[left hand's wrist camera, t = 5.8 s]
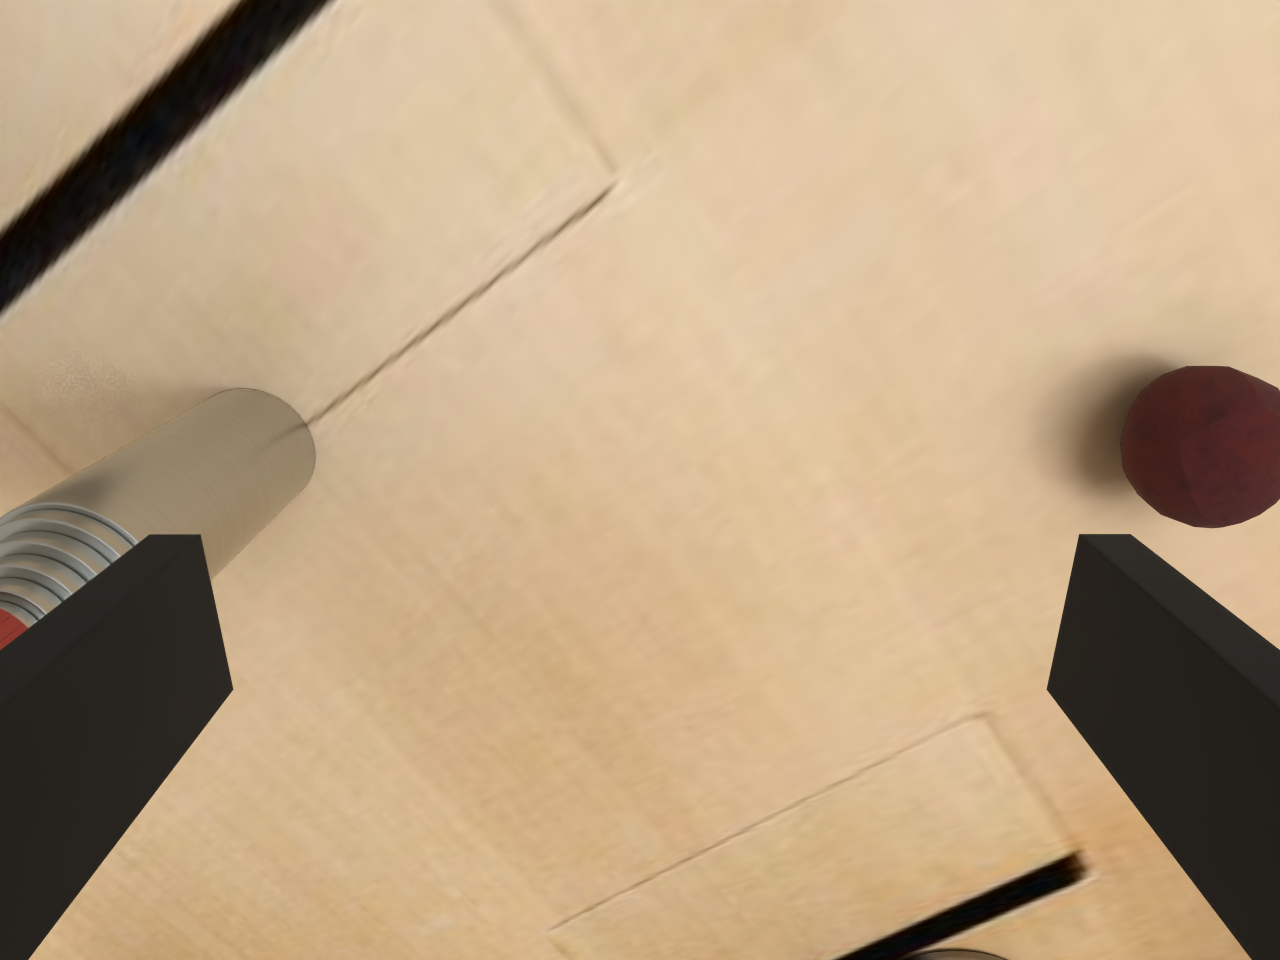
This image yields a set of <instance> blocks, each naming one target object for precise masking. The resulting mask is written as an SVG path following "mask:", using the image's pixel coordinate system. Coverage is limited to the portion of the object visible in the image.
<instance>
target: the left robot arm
mask: <svg viewBox="0 0 1280 960" xmlns="http://www.w3.org/2000/svg"><path fill="white" fill-rule="evenodd" d="M232 690H233V686H232V681H231V676H230V672H229V667H228V662H227V657H226V652H225V648H224V643H223V638H222V633H221V629H220V624H219V619H218V614H217V610H216V605H215V600H214V595H213V590H212V586H211V581H210V576H209V571H208V567H207V562H206V557H205V552H204V547H203V543H202V538H201V534H149V535H148V536H147V537H145V538H144V539H143V540H141V541H140V542H139V543H138V544H136V545H135V546H134V547H132V548H131V549H130V550H129V551H127V552H126V553H125V554H123V555H122V556H121V557H120V558H118V559H117V560H116V561H114V562H113V563H112V564H111V565H109V566H108V567H107V568H105V569H104V570H103V571H102V572H100V573H99V574H98V575H96V576H95V577H94V578H92V579H91V580H90V581H89V582H87V583H86V584H85V585H83V586H82V587H81V588H80V589H78V590H77V591H76V592H74V593H73V594H72V595H71V596H69V597H68V598H67V599H65V600H64V601H63V602H62V603H60V604H59V605H58V606H56V607H55V608H54V609H53V610H51V611H50V612H49V613H47V614H46V615H45V616H44V617H42V618H41V619H40V620H38V621H37V622H36V623H35V624H33V625H32V626H31V627H29V628H28V629H27V630H25V631H24V632H23V633H22V634H20V635H19V636H18V637H16V638H15V639H14V640H13V641H11V642H10V643H9V644H7V645H6V646H5V647H4V648H2V649H1V650H0V960H28V959H29V958H30V957H31V955H32V954H33V953H34V951H35V950H36V949H37V947H38V946H39V945H40V943H41V942H42V941H43V939H44V938H45V937H46V936H47V934H48V933H49V932H50V930H51V929H52V928H53V926H54V925H55V924H56V922H57V921H58V920H59V918H60V917H61V916H62V914H63V913H64V912H65V911H66V909H67V908H68V907H69V905H70V904H71V903H72V901H73V900H74V899H75V897H76V896H77V895H78V893H79V892H80V891H81V889H82V888H83V887H84V885H85V884H86V883H87V882H88V880H89V879H90V878H91V876H92V875H93V874H94V872H95V871H96V870H97V868H98V867H99V866H100V864H101V863H102V862H103V860H104V859H105V858H106V856H107V855H108V854H109V853H110V851H111V850H112V849H113V847H114V846H115V845H116V843H117V842H118V841H119V839H120V838H121V837H122V835H123V834H124V833H125V831H126V830H127V829H128V828H129V826H130V825H131V824H132V822H133V821H134V820H135V818H136V817H137V816H138V814H139V813H140V812H141V810H142V809H143V808H144V806H145V805H146V804H147V802H148V801H149V800H150V799H151V797H152V796H153V795H154V793H155V792H156V791H157V789H158V788H159V787H160V785H161V784H162V783H163V781H164V780H165V779H166V777H167V776H168V775H169V773H170V772H171V771H172V770H173V768H174V767H175V766H176V764H177V763H178V762H179V760H180V759H181V758H182V756H183V755H184V754H185V752H186V751H187V750H188V748H189V747H190V746H191V745H192V743H193V742H194V741H195V739H196V738H197V737H198V735H199V734H200V733H201V731H202V730H203V729H204V727H205V726H206V725H207V723H208V722H209V721H210V719H211V718H212V717H213V716H214V714H215V713H216V712H217V710H218V709H219V708H220V706H221V705H222V704H223V702H224V701H225V700H226V698H227V697H228V696H229V694H230V693H231V692H232ZM1047 690H1048V692H1049V693H1050V694H1051V696H1052V697H1053V698H1054V700H1055V701H1056V702H1057V704H1058V705H1059V706H1060V708H1061V709H1062V710H1063V712H1064V713H1065V714H1066V716H1067V717H1068V718H1069V719H1070V721H1071V722H1072V723H1073V725H1074V726H1075V727H1076V729H1077V730H1078V731H1079V733H1080V734H1081V735H1082V737H1083V738H1084V739H1085V741H1086V742H1087V743H1088V744H1089V746H1090V747H1091V748H1092V750H1093V751H1094V752H1095V754H1096V755H1097V756H1098V758H1099V759H1100V760H1101V762H1102V763H1103V764H1104V766H1105V767H1106V768H1107V770H1108V771H1109V772H1110V773H1111V775H1112V776H1113V777H1114V779H1115V780H1116V781H1117V783H1118V784H1119V785H1120V787H1121V788H1122V789H1123V791H1124V792H1125V793H1126V795H1127V796H1128V797H1129V799H1130V800H1131V801H1132V802H1133V804H1134V805H1135V806H1136V808H1137V809H1138V810H1139V812H1140V813H1141V814H1142V816H1143V817H1144V818H1145V820H1146V821H1147V822H1148V824H1149V825H1150V826H1151V828H1152V829H1153V830H1154V831H1155V833H1156V834H1157V835H1158V837H1159V838H1160V839H1161V841H1162V842H1163V843H1164V845H1165V846H1166V847H1167V849H1168V850H1169V851H1170V853H1171V854H1172V855H1173V856H1174V858H1175V859H1176V860H1177V862H1178V863H1179V864H1180V866H1181V867H1182V868H1183V870H1184V871H1185V872H1186V874H1187V875H1188V876H1189V878H1190V879H1191V880H1192V882H1193V883H1194V884H1195V885H1196V887H1197V888H1198V889H1199V891H1200V892H1201V893H1202V895H1203V896H1204V897H1205V899H1206V900H1207V901H1208V903H1209V904H1210V905H1211V907H1212V908H1213V909H1214V911H1215V912H1216V913H1217V914H1218V916H1219V917H1220V918H1221V920H1222V921H1223V922H1224V924H1225V925H1226V926H1227V928H1228V929H1229V930H1230V932H1231V933H1232V934H1233V936H1234V937H1235V938H1236V939H1237V941H1238V942H1239V943H1240V945H1241V946H1242V947H1243V949H1244V950H1245V951H1246V953H1247V954H1248V955H1249V957H1250V958H1251V959H1252V960H1280V650H1279V649H1278V648H1276V647H1275V646H1274V645H1273V644H1271V643H1270V642H1269V641H1267V640H1266V639H1265V638H1264V637H1262V636H1261V635H1260V634H1258V633H1257V632H1256V631H1255V630H1253V629H1252V628H1251V627H1249V626H1248V625H1247V624H1245V623H1244V622H1243V621H1242V620H1240V619H1239V618H1238V617H1236V616H1235V615H1234V614H1233V613H1231V612H1230V611H1229V610H1227V609H1226V608H1225V607H1224V606H1222V605H1221V604H1220V603H1218V602H1217V601H1216V600H1215V599H1213V598H1212V597H1211V596H1209V595H1208V594H1207V593H1206V592H1204V591H1203V590H1202V589H1200V588H1199V587H1198V586H1197V585H1195V584H1194V583H1193V582H1191V581H1190V580H1189V579H1188V578H1186V577H1185V576H1184V575H1182V574H1181V573H1180V572H1178V571H1177V570H1176V569H1175V568H1173V567H1172V566H1171V565H1169V564H1168V563H1167V562H1166V561H1164V560H1163V559H1162V558H1160V557H1159V556H1158V555H1157V554H1155V553H1154V552H1153V551H1151V550H1150V549H1149V548H1148V547H1146V546H1145V545H1144V544H1142V543H1141V542H1140V541H1139V540H1137V539H1136V538H1135V537H1133V536H1132V535H1131V534H1079V538H1078V543H1077V547H1076V552H1075V557H1074V562H1073V567H1072V571H1071V576H1070V581H1069V586H1068V590H1067V595H1066V600H1065V605H1064V610H1063V614H1062V619H1061V624H1060V629H1059V633H1058V638H1057V643H1056V648H1055V652H1054V657H1053V662H1052V667H1051V672H1050V676H1049V681H1048V686H1047Z"/></svg>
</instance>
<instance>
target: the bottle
mask: <svg viewBox="0 0 1280 960" xmlns="http://www.w3.org/2000/svg"><path fill="white" fill-rule="evenodd" d="M314 465H315V449H314V443H313V440H312V437H311V434H310V432H309V430H308V428H307V426H306V424H305V423H304V421H303V420H302V419H301V417H300V416H299V415H298V414H297V413H296V412H295V411H294V410H293V409H292V408H291V407H290V406H289V405H287V404H286V403H285V402H283V401H282V400H280V399H278V398H276V397H275V396H273V395H270V394H268V393H265V392H262V391H258V390H253V389H231V390H227V391H223V392H221V393H218V394H216V395H214V396H212V397H210V398H209V399H207V400H205V401H203V402H202V403H200V404H198V405H196V406H195V407H193V408H191V409H189V410H188V411H186V412H184V413H182V414H181V415H179V416H177V417H175V418H173V419H172V420H170V421H168V422H166V423H165V424H163V425H161V426H159V427H158V428H156V429H154V430H152V431H151V432H149V433H147V434H145V435H144V436H142V437H140V438H138V439H136V440H135V441H133V442H131V443H129V444H128V445H126V446H124V447H122V448H121V449H119V450H117V451H115V452H114V453H112V454H110V455H108V456H107V457H105V458H103V459H101V460H100V461H98V462H96V463H94V464H92V465H91V466H89V467H87V468H85V469H84V470H82V471H80V472H78V473H77V474H75V475H73V476H71V477H70V478H68V479H66V480H64V481H63V482H61V483H59V484H57V485H55V486H54V487H52V488H50V489H48V490H47V491H45V492H43V493H41V494H40V495H38V496H36V497H34V498H33V499H31V500H29V501H27V502H26V503H24V504H22V505H20V506H19V507H17V508H15V509H13V510H11V511H10V512H8V513H7V514H5V515H3V516H2V517H1V518H0V608H1V609H3V610H5V611H7V612H9V613H11V614H12V615H13V616H15V617H16V618H17V619H19V620H20V621H21V622H22V623H24V624H25V625H26V626H27V627H28V628H29V627H31V626H32V625H33V624H35V623H36V622H37V621H38V620H40V619H41V618H42V617H44V616H45V615H46V614H47V613H49V612H50V611H51V610H53V609H54V608H55V607H56V606H58V605H59V604H60V603H62V602H63V601H64V600H65V599H67V598H68V597H69V596H71V595H72V594H73V593H74V592H76V591H77V590H78V589H80V588H81V587H82V586H83V585H85V584H86V583H87V582H89V581H90V580H91V579H92V578H94V577H95V576H96V575H98V574H99V573H100V572H102V571H103V570H104V569H105V568H107V567H108V566H109V565H111V564H112V563H113V562H114V561H116V560H117V559H118V558H120V557H121V556H122V555H123V554H125V553H126V552H127V551H129V550H130V549H131V548H132V547H134V546H135V545H136V544H138V543H139V542H140V541H141V540H143V539H144V538H145V537H147V536H148V535H149V534H201V538H202V543H203V547H204V552H205V557H206V562H207V567H208V571H209V576H210V581H211V580H212V579H213V578H214V577H215V576H216V575H217V574H218V573H219V572H220V571H221V570H222V569H223V568H224V567H225V566H226V565H227V564H228V563H229V562H230V561H231V560H232V559H233V558H234V557H235V556H236V555H237V554H238V553H239V552H240V551H241V550H242V549H243V548H244V547H245V546H246V545H247V544H248V543H249V542H250V541H251V540H252V539H253V538H254V537H255V536H256V535H257V534H258V533H259V532H260V531H262V530H263V529H264V528H265V527H266V526H267V525H268V524H269V523H270V522H271V521H272V520H273V519H274V518H275V517H276V516H277V515H278V514H279V513H280V512H281V511H282V510H283V509H284V508H285V507H286V506H287V505H288V504H289V503H290V502H291V501H292V500H293V499H294V498H295V497H296V496H297V495H298V494H299V493H300V492H301V491H302V489H303V488H304V487H305V486H306V485H307V483H308V482H309V480H310V478H311V476H312V473H313V470H314Z"/></svg>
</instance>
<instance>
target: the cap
mask: <svg viewBox="0 0 1280 960" xmlns="http://www.w3.org/2000/svg"><path fill="white" fill-rule="evenodd" d="M27 629H28V627H27V626H26V625H25V624H24V623H22V622H21V621H20V620H19V619H17V618H16V617H15V616H13V615H12V614H11V613H9V612H7V611H5V610H3V609H1V608H0V650H1V649H2V648H4V647H5V646H6V645H7V644H9V643H10V642H11V641H13V640H14V639H15V638H16V637H18V636H19V635H20V634H22V633H23V632H24V631H25V630H27Z"/></svg>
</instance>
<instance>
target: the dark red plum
mask: <svg viewBox="0 0 1280 960" xmlns="http://www.w3.org/2000/svg"><path fill="white" fill-rule="evenodd" d="M1120 443H1121V455H1122V466H1123V470H1124V472H1125V474H1126V477H1127V478H1128V480H1129V481H1130V483H1131V484H1132V486H1133V488H1134V489H1135V491H1136V492H1137V494H1138V495H1139V496H1140V497H1141V498H1142V499H1144V500H1145V501H1146V502H1147V503H1148V504H1149V505H1150V506H1151V507H1153V508H1154V509H1155V510H1156V511H1157V512H1159V513H1160V514H1161V515H1163V516H1166V517H1169V518H1171V519H1174V520H1177V521H1179V522H1182V523H1185V524H1188V525H1190V526H1193V527H1203V528H1220V527H1226V526H1230V525H1234V524H1239V523H1242V522H1244V521H1247V520H1249V519H1251V518H1253V517H1256V516H1258V515H1260V514H1261V513H1263V512H1264V511H1266V510H1267V509H1268V508H1270V507H1271V506H1273V505H1274V504H1275V503H1276V502H1277V501H1278V500H1279V499H1280V390H1279V389H1278V388H1277V387H1275V386H1273V385H1271V384H1269V383H1267V382H1265V381H1263V380H1260V379H1258V378H1256V377H1254V376H1251V375H1249V374H1246V373H1244V372H1241V371H1238V370H1236V369H1233V368H1231V367H1225V366H1186V367H1183V368H1180V369H1177V370H1175V371H1172V372H1169V373H1166V374H1163V375H1161V376H1160V377H1158V378H1157V379H1155V380H1154V381H1153V382H1152V383H1151V384H1149V385H1148V386H1147V387H1146V388H1145V389H1143V390H1142V391H1141V392H1140V394H1139V395H1138V397H1137V398H1136V400H1135V402H1134V403H1133V405H1132V406H1131V408H1130V409H1129V413H1128V417H1127V420H1126V424H1125V428H1124V431H1123V435H1122V438H1121V442H1120Z"/></svg>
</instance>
